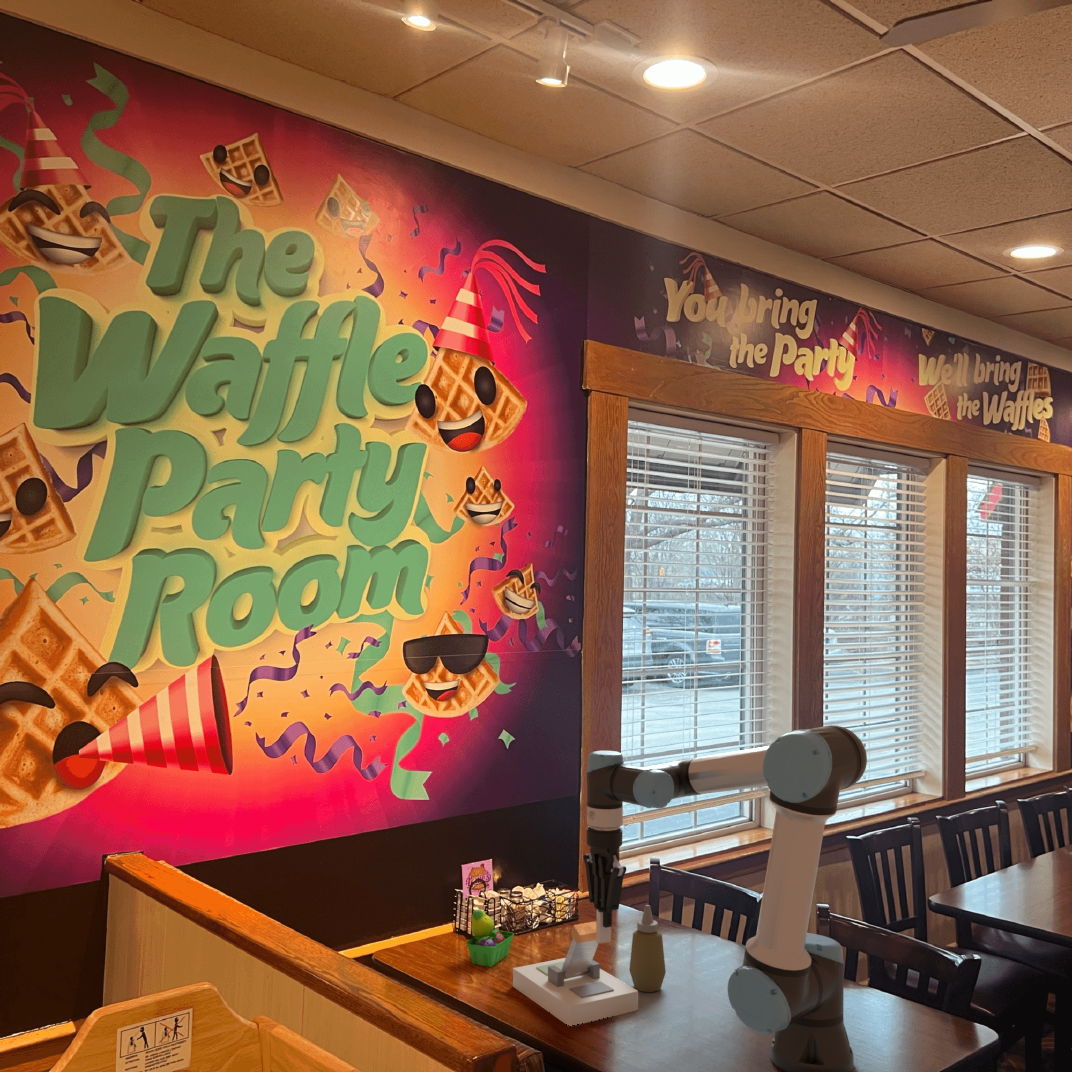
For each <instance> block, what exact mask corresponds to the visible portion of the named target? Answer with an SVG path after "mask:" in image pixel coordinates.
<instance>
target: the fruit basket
mask: <svg viewBox="0 0 1072 1072" xmlns="http://www.w3.org/2000/svg"><path fill="white" fill-rule="evenodd" d="M494 927H495V923H494V920H493V919H492V918H491V917H490V916H489V915H488V914H486V913H485V912H484V911H483V910H482V909H475V910H474V911H473V913H472V915H471V927H470V928H471V933H472V934H473V936H472V938H470V939H469V940H467V941H466V942H465V943H466V946H467V948H468V952H469V956H470V959H471V960H470V961H471V963H472V964H473V965H479V966H483V967H488V968H491V967H493V966H495V964H498V962H499V961H502V960H503V959H504V958H506V957H507V956H509V952H510V948H511V944H512V941H513V938H514V935H515V933H513V932H510V931H504V930H499V929H495V928H494Z"/></svg>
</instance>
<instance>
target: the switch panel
mask: <svg viewBox="0 0 1072 1072" xmlns="http://www.w3.org/2000/svg"><path fill="white" fill-rule="evenodd" d="M565 958H566V957H563V958H562V957H561V958H557V959H552V960H548V961H547V960H546V961H543V962H537V963H533V964H527V965H523V966H517V967H513V969H512V987H513V988H515V989H516V990H517V991H518V992H520V993H521V994H523V995H524V996H526V997H527V998H528V999H529V1000H531V1001H533V1002H534V1003H535V1004H537V1005H538V1006H540V1007H541V1008H543V1009H544V1010H546V1012H548V1013H549V1012H550V1014H551V1015H552V1016H553V1017H555V1018H556V1019H558V1021H561V1022H562V1023H564V1024H565V1025H566V1024H567V1026H568V1025H569V1026H571V1027H573V1026H572V1025H575V1026H578V1025H577V1024H579V1025H582V1023H583V1024H588V1023H591V1021H592V1022H596V1021H599V1019H600V1020H604V1019H608V1018H612V1016H613V1017H617V1016H621V1015H624V1014H629V1013H632V1012H637V1010H638V1011H639V990H637V989H636V988H635V987H633V986H630V985H629V984H627V983H625V982H624V981H622V980H621V979H618V978H617V977H616V976H613V975H611V974H610V973H608V972H607V971H605V970H604V969H602V968H601V964H600V963H599V962H598V961H595V960H594V959H592V962H591V964H590V967H589V969H590V972H589V974H587V975H583V976H578V977H573V978H569V979H564V971H563V970H561V969H562V967H563V964H564V961H565ZM628 1012H629V1013H628ZM607 1017H608V1018H607ZM603 1018H604V1019H603ZM569 1026H568V1027H569Z"/></svg>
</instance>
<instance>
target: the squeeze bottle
mask: <svg viewBox="0 0 1072 1072" xmlns="http://www.w3.org/2000/svg"><path fill="white" fill-rule="evenodd" d="M651 908H652V907H651V905H649V904H645V905H644V909H643V913H642V918H641V919H638V920H637V921H636V928H637V929H636V930H635V931H634V932H633V933H632V940H631V950H630V961H629V969H628V970H629V972H630V976H631V980H632V983H633V985H634V986H633V988H634V989H636V990H637V991H640V992H644V993H653V992H658V991H660V990H661V989H662V985H663V982H664V980H665V976H666V960H665V952H664V951H665V950H664V940H663V934H662V933H661V931H659V923H658V921H657V920H654V919H653V914H652V909H651Z"/></svg>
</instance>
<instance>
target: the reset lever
mask: <svg viewBox="0 0 1072 1072" xmlns="http://www.w3.org/2000/svg"><path fill="white" fill-rule="evenodd" d="M570 935H571V936H572V941H571V942H570V945H569V948H568V951H567V954H566V956H565V957H564V958H565V961H564V964H563V967H562V969H561V970H563V971H564V979H569V978H573V977H578V976H583V975H587V974H589V972H590V969H589V967H590V964H591V962H592V960H594V959H593V958H594V957H595V954H596V951H597V949H598V946H599V944H600V943H598V942H597V941H596V920H595V921H590V922H583V923H578V924H574V925H572V929H571V931H570Z"/></svg>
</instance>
